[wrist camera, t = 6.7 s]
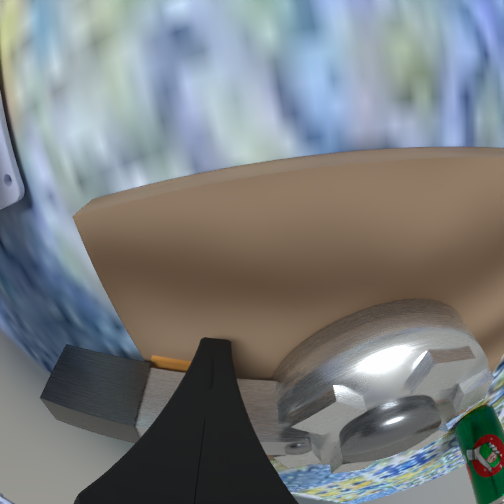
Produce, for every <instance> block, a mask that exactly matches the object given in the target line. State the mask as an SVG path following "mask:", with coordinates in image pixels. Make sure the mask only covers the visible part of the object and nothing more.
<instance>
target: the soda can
mask: <svg viewBox="0 0 504 504" xmlns="http://www.w3.org/2000/svg"><path fill="white" fill-rule="evenodd" d="M454 433H455V436H456V439H457V441H458V444H459V447H460V450H461V453H462V456H463V459H464V462H465V465H466V468H467V471H468V474H469V477H470V481H471V484H472V488H473V491H474V495H475V499H476V503H477V504H504V430H503V428H502V426H501V423H500V421H499V419H498V417H497V414H496V412H495V410H494V408H493V407H492V406H490V405H484V406H481V407H479V408H477V409H475V410H473V411H472V412H470V413H469V414H467V415H466V416H465V417H463V418H462V419H461V420H460V421H459V422H458V423H457V425H456V427H455V430H454Z"/></svg>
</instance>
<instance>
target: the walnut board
mask: <svg viewBox="0 0 504 504" xmlns="http://www.w3.org/2000/svg"><path fill="white" fill-rule="evenodd" d="M73 219H74V222H75V224H76V227H77V229H78V232H79V234H80V236H81V239H82V241H83V244H84V246H85V248H86V250H87V253H88V255H89V257H90V259H91V262H92V264H93V266H94V268H95V270H96V272H97V275H98V277H99V279H100V281H101V283H102V285H103V287H104V289H105V291H106V293H107V295H108V297H109V299H110V301H111V303H112V305H113V306H114V308H115V310H116V312H117V314H118V316H119V318H120V319H121V321H122V323H123V325H124V327H125V328H126V330H127V332H128V334H129V335H130V337H131V339H132V340H133V342H134V344H135V345H136V347H137V349H138V350H139V352H140V354H141V355H142V357H143V359H144V360H145V362H149V363H150V364H151V368H156V369H162V370H168V371H175V372H182V373H186V372H187V370H188V368H189V366H190V364H191V362H192V360H193V358H194V356H195V353H196V351H197V349H198V346H199V343H200V340H201V339H202V338H204V337H207V338H217V339H227V340H229V341H231V349H232V359H233V365H234V370H235V375H236V379H249V380H265V381H271V379H272V377H273V375H274V372H275V371H276V369H277V368H278V366H279V365H280V363H281V362H282V361H283V360H284V359H285V357H286V356H287V355H288V354H289V353H290V352H291V351H292V350H293V349H295V348H296V347H297V346H298V345H299V344H300V343H302V342H303V341H304V340H306V339H307V338H308V337H310V336H311V335H312V334H314V333H316V332H317V331H319V330H321V329H322V328H324V327H326V326H327V325H329V324H331V323H333V322H335V321H337V320H339V319H341V318H343V317H345V316H348V315H350V314H352V313H355V312H357V311H360V310H362V309H366V308H369V307H372V306H375V305H378V304H382V303H386V302H390V301H395V300H403V299H414V298H424V299H433V300H437V301H441V302H444V303H446V304H448V305H450V306H452V307H453V308H454V309H455V310H456V311H457V312H458V313H459V314H460V316H461V317H462V319H463V320H464V322H465V323H466V325H467V326H468V328H469V329H470V331H471V332H472V334H473V335H474V337H475V338H476V340H477V342H478V343H479V345H480V346H481V348H482V350H483V351H484V353H485V355H486V357H487V358H488V367H489V369H490V371H491V373H492V372H493V370H494V369H495V367H496V365H497V364H498V362H499V360H500V359H501V357H502V355H503V353H504V148H490V147H413V148H391V149H375V150H361V151H349V152H339V153H329V154H319V155H311V156H303V157H295V158H287V159H280V160H273V161H266V162H260V163H253V164H247V165H241V166H235V167H230V168H224V169H219V170H214V171H208V172H203V173H198V174H193V175H189V176H184V177H179V178H175V179H170V180H166V181H161V182H157V183H153V184H149V185H144V186H140V187H136V188H132V189H129V190H125V191H121V192H117V193H113V194H110V195H106V196H102V197H99V198H95V199H92V200H91V201H90V202H89V203H87V204H86V205H85V206H84V207H83V208H82V209H80V210H79V211H78V212H77V213H76V214H75V215H73ZM467 409H468V408H466V409H464V410H462V411H460V412H459V413H458V414H457V415H459V414H461V413H463V412H465V411H466V410H467ZM267 457H268V459H269V460H276V459H275V458H273V455H267Z"/></svg>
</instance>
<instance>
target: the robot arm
mask: <svg viewBox="0 0 504 504" xmlns="http://www.w3.org/2000/svg"><path fill="white" fill-rule="evenodd" d="M10 177H11V179H12V182H11V180H10ZM23 196H24V185H23V182H22V179H21V176H20V173H19V169H18V166H17V163H16V159H15V156H14V152H13V148H12V145H11V141H10V137H9V132H8V128H7V124H6V119H5V114H4V109H3V104H2V98H1V92H0V210H1V209H3V208H5V207H7V206H10V205H12V204H14V203H16V202H18V201H19V200H21V199H22V198H23ZM0 504H14V503H13V502H11V501H9V500H8V499H6V498H5V497H4V496H3V494H1V493H0ZM74 504H298V502H297V501H296V500H295V498H294V497H293V496H292V494H291V493H290V492H289V490H288V489H287V487H286V486H285V484H284V483H283V481H282V480H281V478H280V477H279V475H278V473H277V472H276V470H275V469H274V467H273V465H272V464H271V462H270V460H269V459H268V457H267V455H266V453H265V451H264V449H263V447H262V445H261V443H260V441H259V439H258V437H257V435H256V433H255V431H254V428H253V426H252V424H251V421H250V419H249V416H248V413H247V411H246V408H245V405H244V402H243V400H242V396H241V393H240V390H239V386H238V383H237V379H236V375H235V370H234V365H233V359H232V349H231V341H229V340H227V339H217V338H207V337H204V338H202V339H201V340H200V343H199V346H198V349H197V351H196V353H195V356H194V358H193V360H192V362H191V364H190V366H189V368H188V370H187V372H186V373H185V375H184V377H183V379H182V380H181V382H180V384H179V386H178V387H177V389H176V391H175V392H174V394H173V395H172V397H171V398H170V400H169V401H168V403H167V404H166V406H165V407H164V409H163V410H162V411H161V413H160V414H159V416H158V417H157V418H156V420H155V421H154V422H153V423H152V425H151V426H150V427H149V428H148V430H147V431H146V432H145V433H144V434H143V435H142V437H141V438H140V439H139V440H138V441H137V442H136V443H135V445H134V446H133V447H132V448H131V449H130V450H129V451H128V452H127V453H126V454H125V455H124V456H123V457H122V458H121V459H120V460H119V461H118V462H117V463H115V464H114V465H113V466H112V467H111V468H110V469H109V470H108V471H107V472H106V473H104V474H103V475H102V476H101V477H100V478H99V479H97V480H96V481H94V482H93V483H92V484H91V485H89V486H88V487H87V488H85V489H84V490H83V491H81V492H80V493H79V494H78V496H77V498H76V500H75V502H74Z"/></svg>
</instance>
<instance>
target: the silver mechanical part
mask: <svg viewBox="0 0 504 504" xmlns="http://www.w3.org/2000/svg"><path fill="white" fill-rule="evenodd" d="M184 375H185V373H182V372H175V371H168V370H162V369H156V368H151V364H150V363H149V362H143V361H138V360H132V359H127V358H122V357H117V356H113V355H108V354H104V353H99V352H95V351H91V350H87V349H83V348H79V347H75V346H71V345H67V344H66V346H65V348H64V350H63V352H62V354H61V356H60V358H59V359H58V361H57V363H56V365H55V367H54V369H53V371H52V373H51V375H50V377H49V379H48V382H47V384H46V386H45V388H44V390H43V392H42V394H41V397H40V398H41V400H42V401H43V402H44V404H45V405H46V407H47V408H48V409H49V411H50V412H51V413H52V414H53V416H54V417H55V418H56V419H57V420H59V421H62V422H65V423H68V424H70V425H73V426H76V427H79V428H82V429H85V430H88V431H91V432H95V433H98V434H102V435H105V436H109V437H113V438H116V439H120V440H124V441H128V442H133V443H136V442H137V441H138V440H139V439H140V438H141V437H142V435H143V434H144V433H145V432H146V431H147V430H148V428H149V427H150V426H151V425H152V423H153V422H154V421H155V420H156V418H157V417H158V416H159V414H160V413H161V411H162V410H163V409H164V407H165V406H166V404H167V403H168V401H169V400H170V398H171V397H172V395H173V394H174V392H175V391H176V389H177V387H178V386H179V384H180V382H181V380H182V379H183V377H184ZM493 379H494V376H493V375H492V373H491V371H490V369H489V367H488V358H487V357H486V355H485V353H484V351H483V350H482V348H481V346H480V345H479V343H478V342H477V340H476V338H475V337H474V335H473V334H472V332H471V331H470V329H469V328H468V326H467V325H466V323H465V322H464V320H463V319H462V317H461V316H460V314H459V313H458V312H457V311H456V310H455V309H454V308H453V307H452V306H450V305H448V304H446V303H444V302H441V301H437V300H433V299H424V298H414V299H403V300H395V301H390V302H386V303H382V304H378V305H375V306H372V307H369V308H366V309H362V310H360V311H357V312H355V313H352V314H350V315H348V316H345V317H343V318H341V319H339V320H337V321H335V322H333V323H331V324H329V325H327V326H326V327H324V328H322V329H321V330H319V331H317V332H316V333H314V334H312V335H311V336H310V337H308V338H307V339H306V340H304V341H303V342H302V343H300V344H299V345H298V346H297V347H296V348H295V349H293V350H292V351H291V352H290V353H289V354H288V355H287V356H286V357H285V359H284V360H283V361H282V362H281V363H280V365H279V366H278V368H277V369H276V371H275V372H274V375H273V377H272V379H271V381H265V380H249V379H237V383H238V386H239V390H240V393H241V396H242V400H243V402H244V405H245V408H246V411H247V413H248V416H249V419H250V421H251V424H252V426H253V428H254V431H255V433H256V435H257V437H258V439H259V441H260V443H261V445H262V447H263V449H264V451H265V453H266V455H273V458H275V459H276V460H277V461H278V462H280V463H281V464H282V465H284V466H285V467H286V468H294V467H299V466H305V465H310V464H330V466H331V474H332V473H341V472H348V471H355V470H361V469H365V468H367V467H368V466H369V465H371V464H372V463H373V462H374V461H376V460H379V459H383V458H386V457H390V456H393V455H395V454H398V453H400V452H403V451H405V450H407V449H412V450H420V449H421V448H423V447H425V446H427V445H429V444H430V443H432V442H434V441H435V440H437V439H439V438H440V437H442V436H444V435H445V434H447V433H448V429H447V426H446V423H447V422H448V421H450V420H451V419H452V418H453V417H455V416H456V415H457V414H458V413H459V412H460V411H462V410H464V409H466V408H468V407H470V406H472V405H473V404H475V403H477V402H479V401H480V400H482V399H484V398H485V396H486V394H487V392H488V390H489V387H490V385H491V383H492V381H493Z"/></svg>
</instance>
